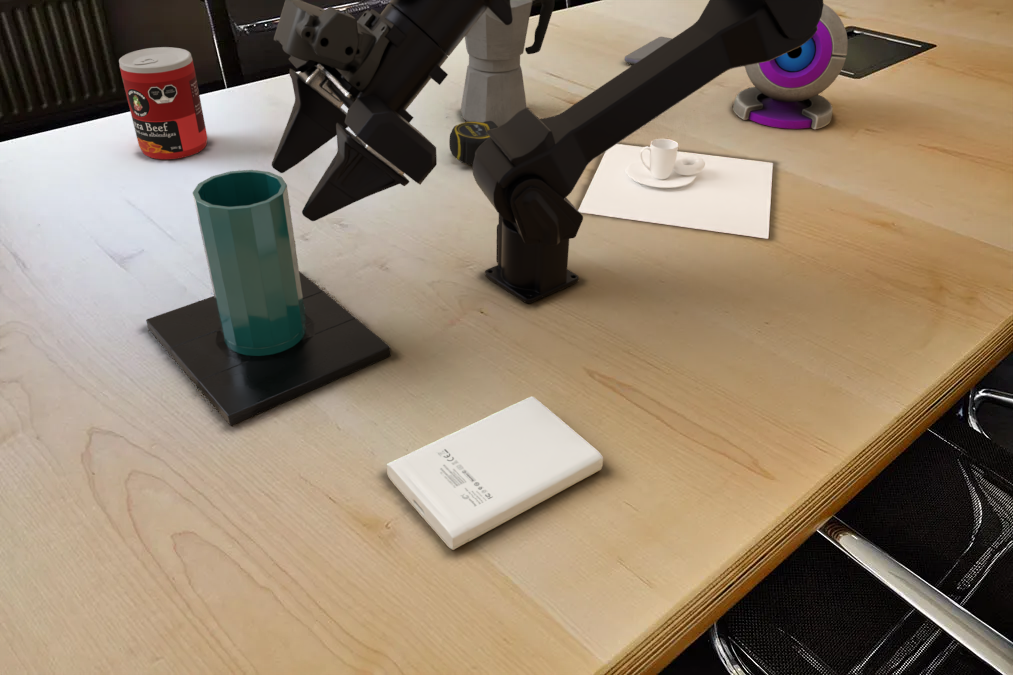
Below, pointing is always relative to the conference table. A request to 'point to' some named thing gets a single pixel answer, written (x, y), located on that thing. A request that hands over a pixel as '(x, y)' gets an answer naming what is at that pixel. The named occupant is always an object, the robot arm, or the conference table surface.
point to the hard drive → (493, 470)
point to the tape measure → (469, 139)
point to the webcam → (797, 80)
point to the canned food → (164, 102)
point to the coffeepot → (500, 63)
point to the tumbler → (252, 260)
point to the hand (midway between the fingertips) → (290, 192)
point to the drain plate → (272, 378)
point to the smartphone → (646, 50)
